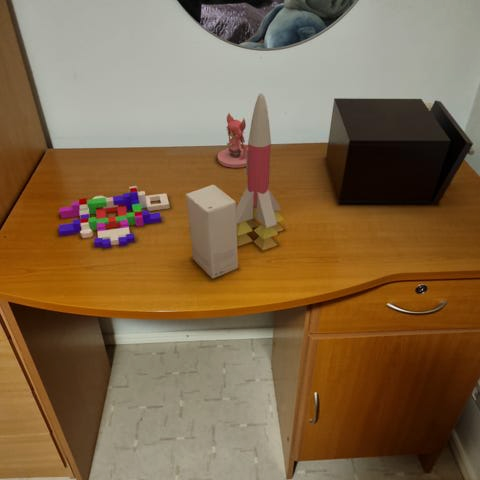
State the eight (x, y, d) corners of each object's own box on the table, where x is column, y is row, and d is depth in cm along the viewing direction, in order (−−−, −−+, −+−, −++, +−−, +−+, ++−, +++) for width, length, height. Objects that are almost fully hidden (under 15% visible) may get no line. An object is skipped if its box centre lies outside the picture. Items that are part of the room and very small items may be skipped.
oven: (405, 158, 133) (421, 98, 121) (429, 205, 116) (450, 140, 104) (325, 158, 133) (334, 98, 121) (338, 204, 116) (349, 140, 104)
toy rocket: (294, 239, 106) (308, 97, 84) (247, 255, 101) (250, 111, 80) (264, 213, 113) (270, 77, 92) (219, 227, 108) (215, 88, 87)
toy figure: (210, 160, 131) (208, 116, 123) (233, 148, 137) (233, 105, 128) (237, 171, 127) (237, 126, 118) (260, 158, 132) (261, 114, 124)
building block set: (59, 254, 101) (53, 236, 98) (61, 203, 115) (56, 186, 112) (177, 238, 106) (175, 220, 102) (165, 191, 120) (163, 174, 116)
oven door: (422, 161, 133) (452, 104, 122) (449, 207, 116) (486, 146, 105) (406, 157, 132) (435, 100, 122) (431, 204, 115) (466, 142, 105)
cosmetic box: (238, 269, 98) (238, 202, 87) (210, 280, 95) (207, 212, 84) (217, 248, 103) (215, 182, 92) (190, 258, 100) (184, 192, 89)
